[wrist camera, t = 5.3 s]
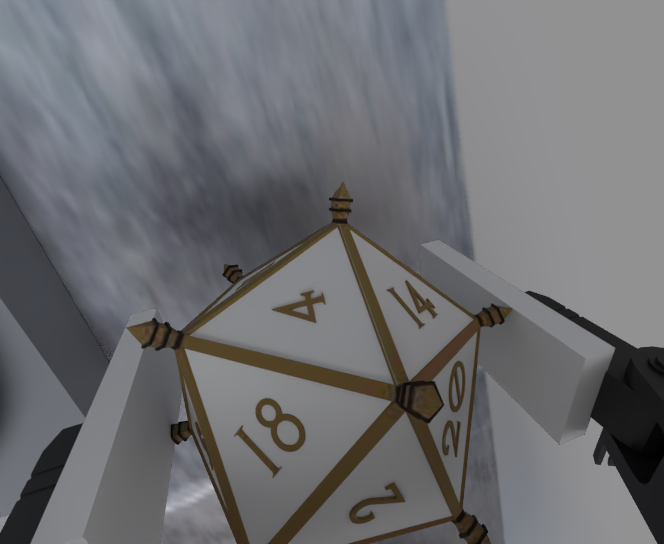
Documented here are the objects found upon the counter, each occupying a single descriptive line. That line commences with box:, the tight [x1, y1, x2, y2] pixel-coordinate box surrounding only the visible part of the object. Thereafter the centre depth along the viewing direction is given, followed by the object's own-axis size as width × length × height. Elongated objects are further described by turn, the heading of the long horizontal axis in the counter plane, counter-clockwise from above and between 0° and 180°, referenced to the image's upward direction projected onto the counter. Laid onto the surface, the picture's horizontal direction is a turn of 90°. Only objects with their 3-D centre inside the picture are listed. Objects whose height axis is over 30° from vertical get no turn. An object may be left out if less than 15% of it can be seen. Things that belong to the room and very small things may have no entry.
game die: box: [126, 182, 512, 544], centre depth 9 cm, size 9×8×10 cm
